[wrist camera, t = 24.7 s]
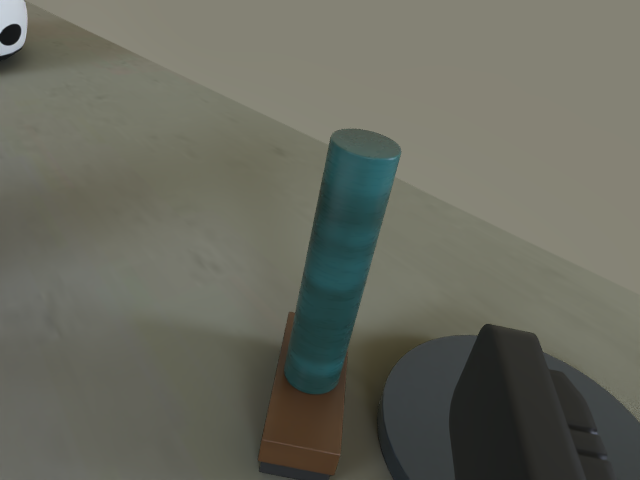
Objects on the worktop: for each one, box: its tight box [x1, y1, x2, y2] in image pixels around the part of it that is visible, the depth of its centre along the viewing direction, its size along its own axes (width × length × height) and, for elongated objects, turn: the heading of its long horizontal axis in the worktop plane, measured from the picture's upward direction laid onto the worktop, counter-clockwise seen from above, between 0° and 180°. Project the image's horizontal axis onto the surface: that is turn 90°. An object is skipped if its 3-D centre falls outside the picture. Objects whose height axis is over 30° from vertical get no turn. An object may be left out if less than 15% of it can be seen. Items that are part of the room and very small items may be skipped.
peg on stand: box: [258, 129, 401, 480], centre depth 27 cm, size 9×4×15 cm, turn 175°
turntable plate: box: [377, 335, 640, 480], centre depth 30 cm, size 15×15×1 cm
